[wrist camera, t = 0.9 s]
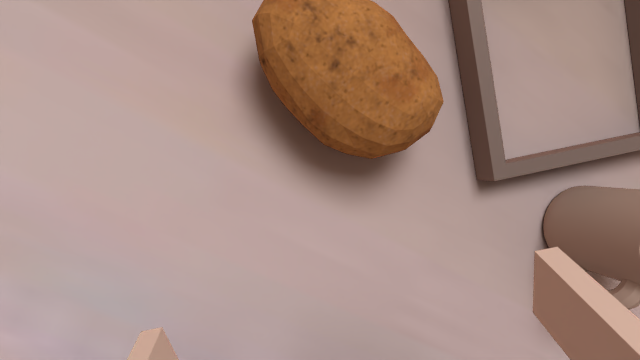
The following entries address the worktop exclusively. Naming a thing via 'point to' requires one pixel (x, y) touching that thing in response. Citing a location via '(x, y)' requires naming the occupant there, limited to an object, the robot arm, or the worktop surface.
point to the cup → (599, 234)
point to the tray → (485, 109)
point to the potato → (347, 73)
